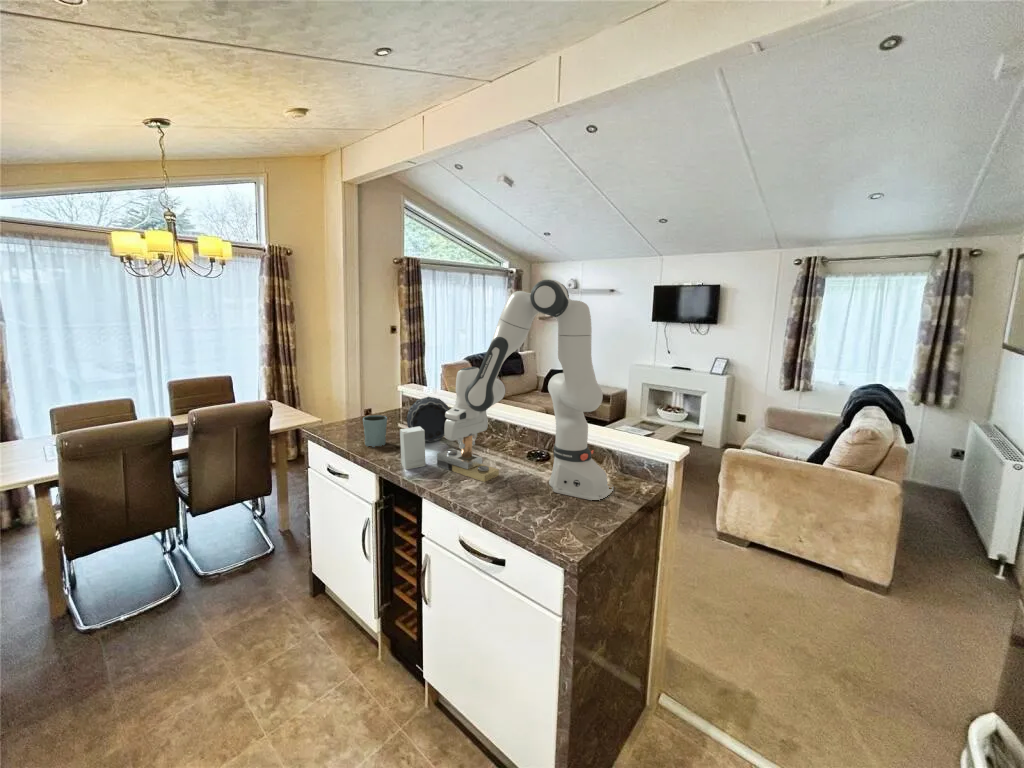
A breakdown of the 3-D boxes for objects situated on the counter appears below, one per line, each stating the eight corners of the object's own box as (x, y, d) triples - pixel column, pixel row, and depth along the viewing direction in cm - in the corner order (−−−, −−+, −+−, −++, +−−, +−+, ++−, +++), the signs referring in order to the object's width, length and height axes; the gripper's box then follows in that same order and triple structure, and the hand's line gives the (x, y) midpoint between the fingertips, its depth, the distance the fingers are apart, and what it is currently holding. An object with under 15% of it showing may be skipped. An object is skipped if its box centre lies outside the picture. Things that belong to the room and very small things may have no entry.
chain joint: (498, 475, 162) (499, 460, 161) (484, 482, 155) (484, 466, 154) (452, 460, 176) (451, 446, 175) (437, 466, 170) (437, 451, 168)
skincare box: (421, 461, 174) (420, 425, 171) (426, 467, 168) (425, 429, 166) (400, 465, 169) (399, 428, 167) (404, 470, 164) (403, 432, 162)
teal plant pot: (358, 445, 191) (357, 418, 189) (374, 439, 200) (373, 413, 198) (377, 448, 187) (376, 421, 185) (392, 442, 197) (391, 416, 194)
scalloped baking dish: (406, 438, 203) (405, 396, 199) (449, 435, 209) (449, 394, 205) (408, 445, 193) (407, 401, 189) (453, 442, 199) (453, 399, 195)
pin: (474, 455, 165) (474, 432, 163) (467, 458, 162) (467, 434, 160) (466, 453, 167) (466, 430, 166) (459, 455, 164) (459, 432, 163)
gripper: (479, 404, 171) (478, 438, 174) (441, 413, 155) (441, 451, 158) (492, 407, 168) (491, 442, 170) (454, 417, 152) (454, 455, 154)
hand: (466, 446), depth 164 cm, fingers closed on pin, 4 cm apart
